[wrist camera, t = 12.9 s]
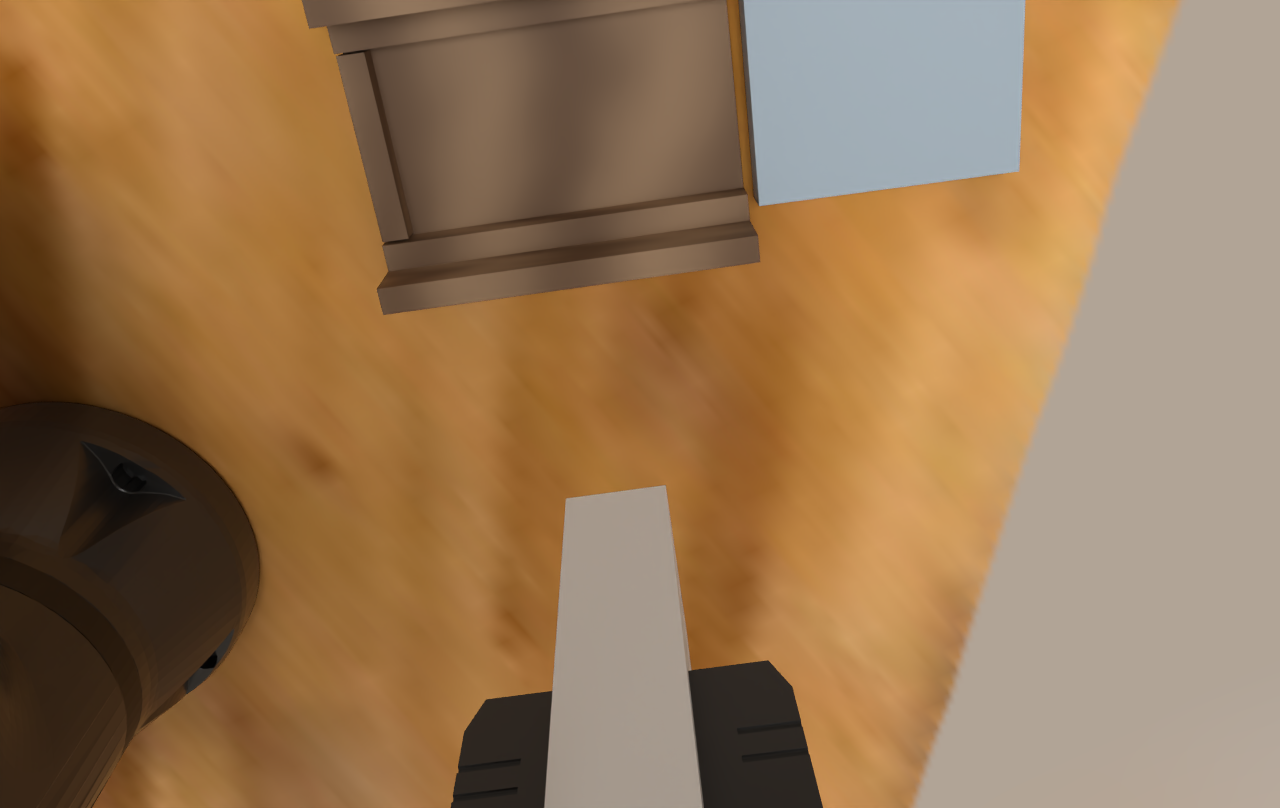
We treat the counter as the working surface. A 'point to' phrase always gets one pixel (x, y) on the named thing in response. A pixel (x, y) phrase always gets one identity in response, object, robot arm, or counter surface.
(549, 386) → the counter surface
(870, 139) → the cover plate
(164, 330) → the counter surface
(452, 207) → the lid box
